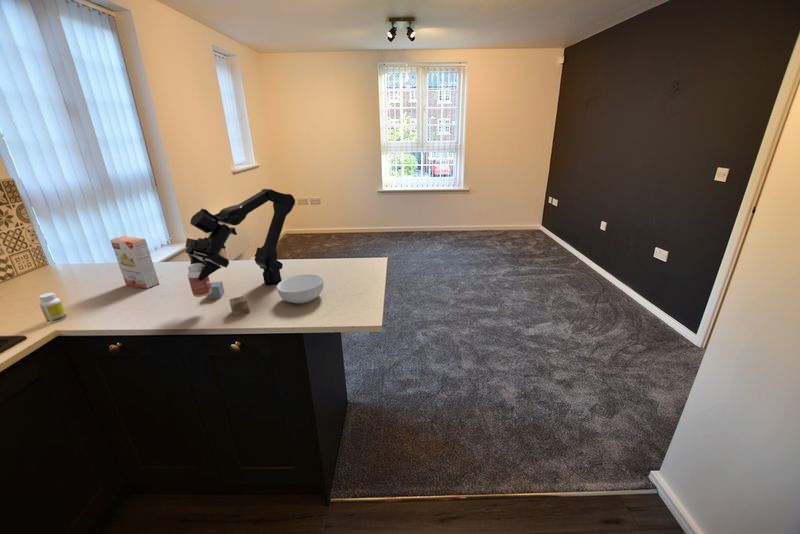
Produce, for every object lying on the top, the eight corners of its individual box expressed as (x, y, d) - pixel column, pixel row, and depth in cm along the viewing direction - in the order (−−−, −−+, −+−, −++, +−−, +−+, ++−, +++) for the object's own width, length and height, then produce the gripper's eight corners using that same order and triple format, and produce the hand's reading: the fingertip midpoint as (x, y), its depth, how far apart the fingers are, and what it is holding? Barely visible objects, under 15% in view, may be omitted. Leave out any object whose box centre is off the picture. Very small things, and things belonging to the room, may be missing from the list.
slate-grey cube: (224, 292, 144) (222, 281, 142) (221, 298, 139) (218, 286, 137) (211, 294, 143) (208, 282, 141) (207, 299, 138) (204, 287, 137)
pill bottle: (213, 294, 126) (206, 265, 122) (194, 299, 123) (185, 269, 119) (211, 288, 131) (204, 260, 127) (192, 293, 128) (184, 264, 124)
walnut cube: (246, 307, 131) (243, 295, 129) (249, 313, 127) (247, 300, 125) (231, 311, 128) (229, 299, 126) (234, 317, 124) (231, 304, 122)
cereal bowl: (310, 286, 147) (308, 270, 144) (333, 298, 136) (331, 281, 133) (271, 299, 136) (268, 283, 133) (293, 314, 125) (290, 296, 122)
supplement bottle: (71, 315, 130) (61, 290, 126) (59, 322, 125) (49, 297, 121) (55, 316, 129) (44, 292, 125) (43, 324, 124) (31, 298, 120)
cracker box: (124, 285, 154) (108, 239, 146) (138, 280, 159) (124, 235, 152) (146, 289, 149) (130, 242, 141) (160, 284, 154) (145, 238, 146)
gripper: (183, 225, 126) (159, 263, 122) (212, 231, 116) (187, 274, 112) (210, 240, 135) (188, 276, 131) (239, 247, 125) (216, 287, 121)
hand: (194, 278), depth 124 cm, fingers closed on pill bottle, 6 cm apart
